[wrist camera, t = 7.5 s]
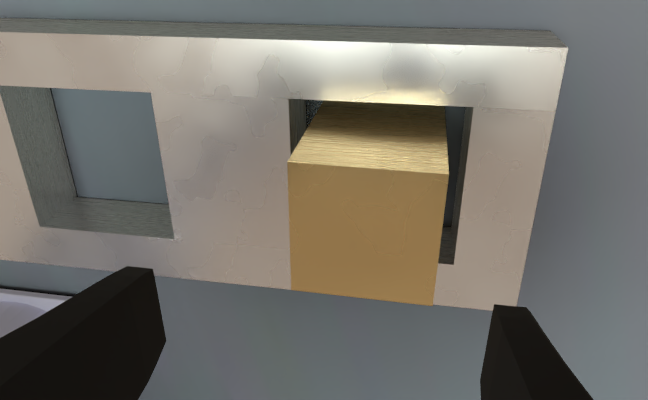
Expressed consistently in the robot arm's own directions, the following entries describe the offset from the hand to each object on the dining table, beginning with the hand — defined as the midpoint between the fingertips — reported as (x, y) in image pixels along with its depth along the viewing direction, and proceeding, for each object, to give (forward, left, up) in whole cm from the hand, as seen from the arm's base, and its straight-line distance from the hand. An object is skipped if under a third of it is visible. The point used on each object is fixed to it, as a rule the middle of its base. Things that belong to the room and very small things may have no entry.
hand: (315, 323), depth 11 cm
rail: (0, +4, -9) cm, 10 cm away
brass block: (0, -1, -9) cm, 9 cm away
